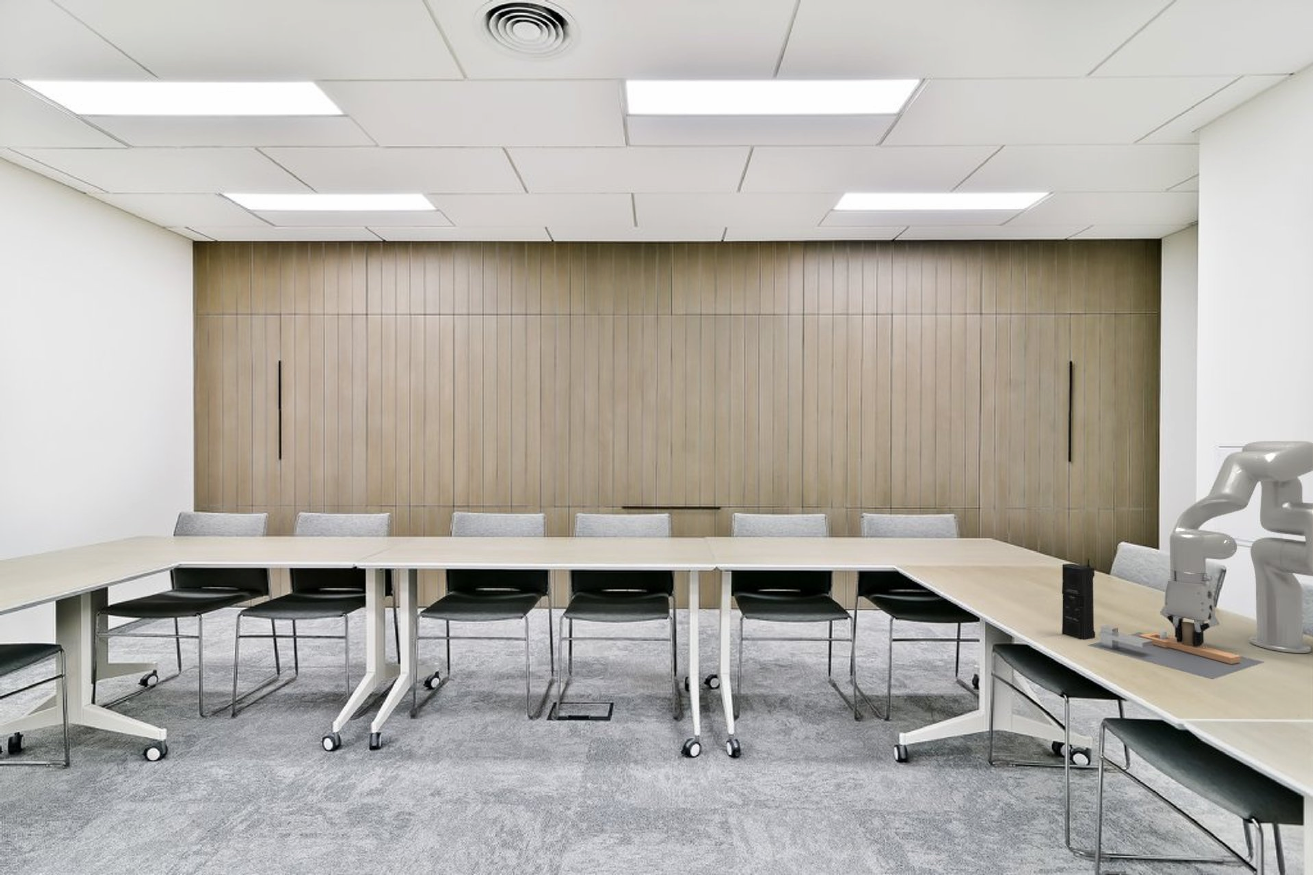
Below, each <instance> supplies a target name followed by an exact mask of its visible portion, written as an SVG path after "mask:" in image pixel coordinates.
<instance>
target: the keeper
mask: <svg viewBox="0 0 1313 875" xmlns="http://www.w3.org/2000/svg"><path fill="white" fill-rule="evenodd" d="M1098 637H1100V642H1101V646H1104V647H1108V648H1112V649H1113V648H1117V647H1118V641H1119V642H1123V643H1127V644H1131V645H1134V646H1138V647H1142V648H1143V647H1147V646H1150V645H1153V640H1149V639H1144V638H1140V637H1136V636H1132V635H1131V634H1127V633H1123V632H1119V627H1116V626H1113V625H1108V624H1106V625H1101V626H1100V631H1099V632H1098Z"/></svg>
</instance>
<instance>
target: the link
mask: <svg viewBox="0 0 1313 875" xmlns="http://www.w3.org/2000/svg"><path fill="white" fill-rule="evenodd" d="M1194 631H1195V624H1194V622H1192V621H1183V622H1182V642H1177V638H1176V637H1175V636H1170V635H1167V639H1163V640H1162V639H1160V632H1155V631H1154V632H1149V633H1145V634H1142V635H1139V637H1140V638H1144V639H1149V640H1153V645H1157V646H1161V647H1164V648H1167V647H1170V648H1174V649H1178V650H1181V651H1185V652H1189V653H1192V654H1196V655H1200V656H1203V657H1207V658H1211V659H1214V660H1218V661H1222V662H1225V663H1229V664H1234V663H1238V662H1241V657H1242V656H1241V655H1240V654H1239V655H1238V654H1234V653H1231V652H1227V651H1223V650H1218V649H1215V648H1210V647H1207V646H1204V645H1200V646H1194V645H1193V632H1194ZM1240 656H1241V657H1240Z"/></svg>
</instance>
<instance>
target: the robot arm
mask: <svg viewBox="0 0 1313 875" xmlns="http://www.w3.org/2000/svg"><path fill="white" fill-rule="evenodd" d="M1311 472H1313V441H1312V442H1310V441H1302V440H1300V441H1299V440H1292V441H1291V440H1271V441H1270V440H1267V441H1266V440H1262V441H1253V442H1249V443H1247V444H1245V445H1244V446H1242V449H1241V451H1236V452H1233V453H1230V454H1229V455H1227V456H1226V457H1225V459H1224V460H1223V463H1222V465H1221V467H1220V469H1219V471H1218V473H1217V476H1216V478H1215V481H1214V483H1213V484H1212V487H1211V489H1210V491H1209V493H1208V494H1207V495H1206V496H1205V497H1204V498H1202V499H1200V500H1198V501H1196V502H1195V503H1194V504H1192V505H1191V506H1190V507H1188V508H1187V509H1185V510H1184V511H1183V512H1182V513H1181V514H1180V515H1179V517H1178V519H1177V521H1176V524H1175V526H1174V528H1173V530H1172V533H1171V534H1170V536H1169V560H1170V562H1169V567H1170V579H1167V583H1166V587H1165V590H1164V591H1165V592H1164V606H1163V607H1162V609H1161V610H1160V611H1159V614H1160V615H1161V616H1163V617H1164V618H1166V619H1167V620H1168V621H1169V622H1170V623H1171V625H1172V626H1173V627H1174V637H1175V638H1177V642H1182V622H1184V619H1188V620H1193V623H1194V624H1195V631H1194V632H1193V645H1194V646H1203V644H1204V642H1205V641H1204V639H1205V638H1204V632H1206V630H1208V629H1209V628H1213V627H1217V626H1220V624H1221V623H1220V622H1219V620H1218V618H1217V616H1216V608H1215V607H1216V606H1215V600H1214V594H1213V590H1212V587H1211V584H1209V583H1208V582H1212V581H1213V577H1212V576H1209V575H1208V574H1207V571H1206V570H1207V569H1206V568H1207V566H1206V565H1207V564H1206V563H1207V562H1206V560H1207V559H1209V560H1227V559H1229V558H1230V559H1231V558H1232V557H1233V556H1234V555H1235V554H1236V552H1237V551H1238V550H1237V549H1238V544H1237V542H1236V540H1235V539H1234V537H1232V536H1231V535H1229V534H1227V533H1225V532H1219V531H1211V530H1204V529H1200V528H1201V526H1203V525H1204V524H1205V523H1206V522H1208V521H1210V520H1212V519H1214V518H1217V517H1221V516H1225V515H1228V514H1232V513H1236V512H1239V511H1241V510H1244V509H1246V508H1247V506H1248V505H1249V502H1250V500H1251V497H1252V496H1253V494H1254V491H1255V489H1256V486H1257V485H1258V483H1259V482H1260V486H1261V495H1260V508H1259V509H1260V511H1259V512H1260V513H1259V519H1260V520H1259V521H1260V525H1261V527H1262V528H1263V529H1264V530H1266V531H1268V532H1271V533H1277V534H1283V535H1291V536H1299V537H1300V536H1301V537H1305V538H1304V539H1305V540H1297V539H1290V538H1283V537H1282V538H1281V537H1271V536H1270V537H1269V536H1268V537H1260V538H1258V539H1256V540H1255V541H1253V543H1252V544H1251V545H1250V550H1249V551H1250V558H1251V561H1252V564H1253V570H1254V575H1255V577H1254V578H1255V610H1256V617H1255V618H1256V619H1255V620H1256V635H1253V636H1249V643H1250V644H1252V645H1254V646H1257V647H1259V648H1264V649H1266V650H1273V651H1277V652H1284V653H1292V654H1293V653H1294V654H1307V653H1308V654H1309V653H1311V651H1312V650H1311V649H1312V648H1311V646H1309V644H1306V643H1304V641H1303V640H1304V638H1303V637H1304V636H1305V635H1304V634H1305V633H1304V632H1303V630H1304V629H1303V589H1302V586H1301V584H1300V582H1299V580H1298V579H1297V577H1296V576H1295V575H1302V576H1308V577H1313V502H1304V501H1303V483H1302V482H1301V480H1300V478H1299V477H1300V476H1303V475H1306V474H1309V473H1311ZM1294 574H1295V575H1294ZM1208 620H1209V622H1207V621H1208Z"/></svg>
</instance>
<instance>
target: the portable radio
mask: <svg viewBox="0 0 1313 875" xmlns="http://www.w3.org/2000/svg"><path fill="white" fill-rule="evenodd" d="M1061 566H1062V573H1061V574H1062V576H1061V577H1062V584H1061V585H1062V586H1061V594H1062V618H1061V619H1062V621H1061V622H1062V623H1061V624H1062V628H1061V635H1064V636H1067V637H1068V636H1069V637H1072V638H1074V639H1077V640H1081V641H1082V640H1083V641H1087V640H1090V639H1095V638H1096V631H1095V623H1094V622H1095V620H1094V618H1095V617H1094V614H1095V613H1094V578H1095V567H1094V566H1091V565H1090V558H1087V564H1086V565H1082V564H1077V563H1063V564H1062V565H1061Z"/></svg>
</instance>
